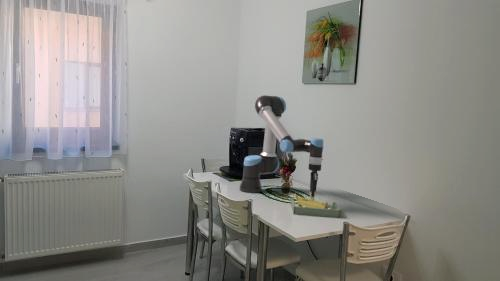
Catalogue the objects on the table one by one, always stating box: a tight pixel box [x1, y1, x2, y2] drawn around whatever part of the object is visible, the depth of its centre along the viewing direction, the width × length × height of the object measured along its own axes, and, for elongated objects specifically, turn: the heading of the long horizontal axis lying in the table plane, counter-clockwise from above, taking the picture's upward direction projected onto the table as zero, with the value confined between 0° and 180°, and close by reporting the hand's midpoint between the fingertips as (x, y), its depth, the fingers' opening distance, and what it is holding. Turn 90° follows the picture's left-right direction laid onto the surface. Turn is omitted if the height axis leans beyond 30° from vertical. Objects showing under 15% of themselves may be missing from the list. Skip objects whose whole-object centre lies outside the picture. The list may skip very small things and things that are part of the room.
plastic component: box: [294, 193, 329, 209], centre depth 223 cm, size 20×7×10 cm
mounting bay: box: [290, 198, 342, 218], centre depth 215 cm, size 17×26×5 cm, turn 89°
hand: (311, 201), depth 229 cm, fingers closed
